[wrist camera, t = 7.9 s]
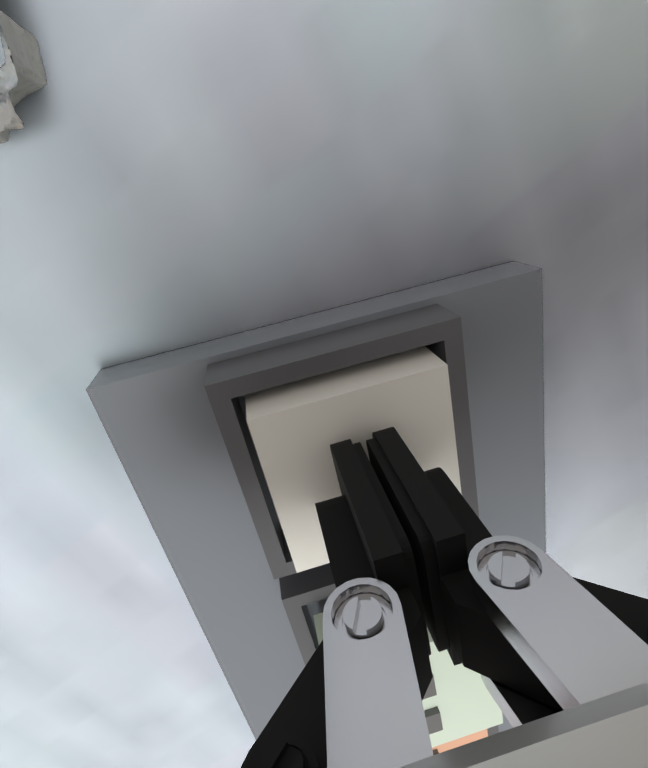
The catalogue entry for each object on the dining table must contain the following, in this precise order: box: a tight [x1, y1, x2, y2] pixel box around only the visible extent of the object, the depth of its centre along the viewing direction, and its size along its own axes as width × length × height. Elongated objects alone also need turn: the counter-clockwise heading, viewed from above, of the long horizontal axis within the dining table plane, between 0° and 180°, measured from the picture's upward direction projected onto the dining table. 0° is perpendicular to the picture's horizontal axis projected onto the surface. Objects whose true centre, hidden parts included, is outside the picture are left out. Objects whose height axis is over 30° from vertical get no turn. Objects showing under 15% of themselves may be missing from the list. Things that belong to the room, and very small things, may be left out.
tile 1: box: [245, 346, 462, 573], centre depth 13 cm, size 5×5×2 cm
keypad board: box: [86, 261, 546, 740], centre depth 17 cm, size 13×22×3 cm, turn 13°
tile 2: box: [313, 612, 503, 748], centre depth 15 cm, size 5×5×2 cm
